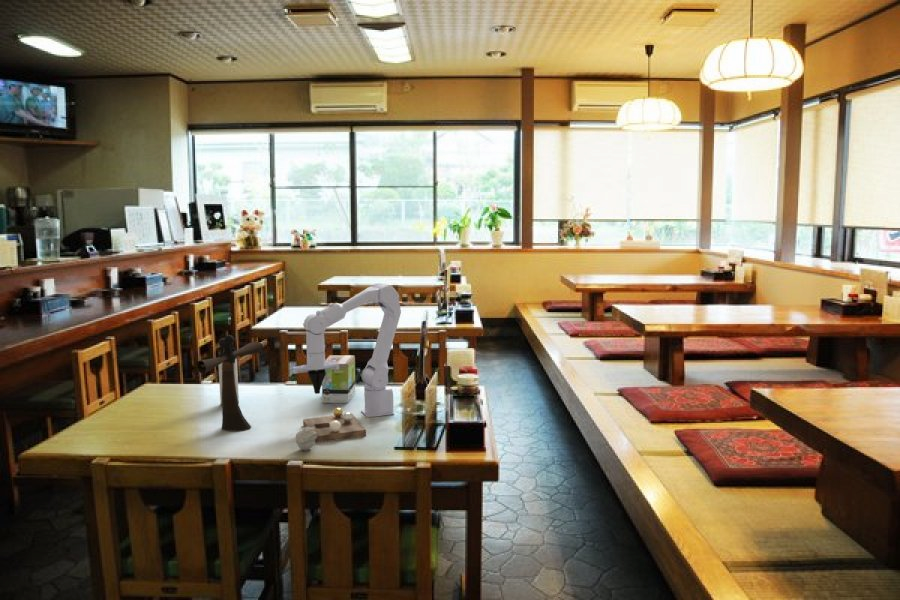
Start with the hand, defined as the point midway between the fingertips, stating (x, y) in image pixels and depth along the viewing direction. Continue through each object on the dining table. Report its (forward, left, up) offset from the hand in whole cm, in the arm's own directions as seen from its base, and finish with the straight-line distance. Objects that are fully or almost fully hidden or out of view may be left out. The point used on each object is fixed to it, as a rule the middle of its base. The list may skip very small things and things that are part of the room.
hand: (317, 392), depth 215 cm
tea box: (-13, -26, -10) cm, 31 cm away
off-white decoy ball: (-2, +17, -6) cm, 18 cm away
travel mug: (+25, -33, -10) cm, 43 cm away
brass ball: (-6, +3, -6) cm, 9 cm away
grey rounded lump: (+8, +24, -10) cm, 27 cm away
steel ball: (-8, +10, -6) cm, 14 cm away
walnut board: (-3, +10, -10) cm, 14 cm away
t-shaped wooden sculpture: (+25, -5, -10) cm, 27 cm away
